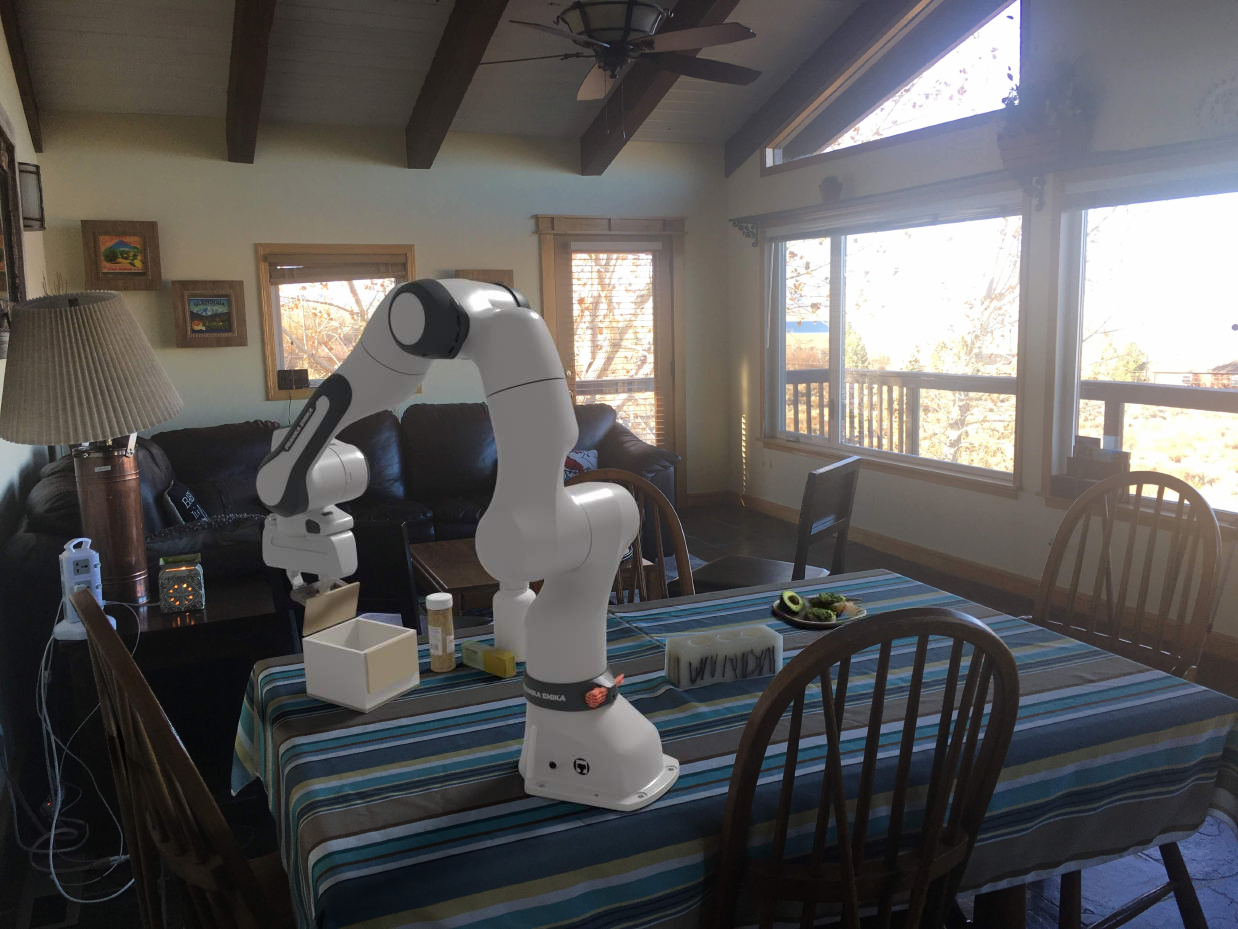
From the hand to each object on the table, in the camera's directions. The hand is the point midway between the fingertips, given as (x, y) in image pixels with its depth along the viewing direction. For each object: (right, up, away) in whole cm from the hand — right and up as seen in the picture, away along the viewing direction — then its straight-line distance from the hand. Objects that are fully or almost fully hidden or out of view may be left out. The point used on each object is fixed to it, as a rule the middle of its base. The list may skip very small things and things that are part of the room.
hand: (311, 595), depth 159 cm
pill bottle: (+34, -13, +11) cm, 38 cm away
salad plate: (+93, -8, +29) cm, 98 cm away
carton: (+10, -16, -3) cm, 19 cm away
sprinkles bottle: (+22, -14, +6) cm, 26 cm away
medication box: (+30, -14, +5) cm, 33 cm away
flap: (+4, -2, -2) cm, 5 cm away
